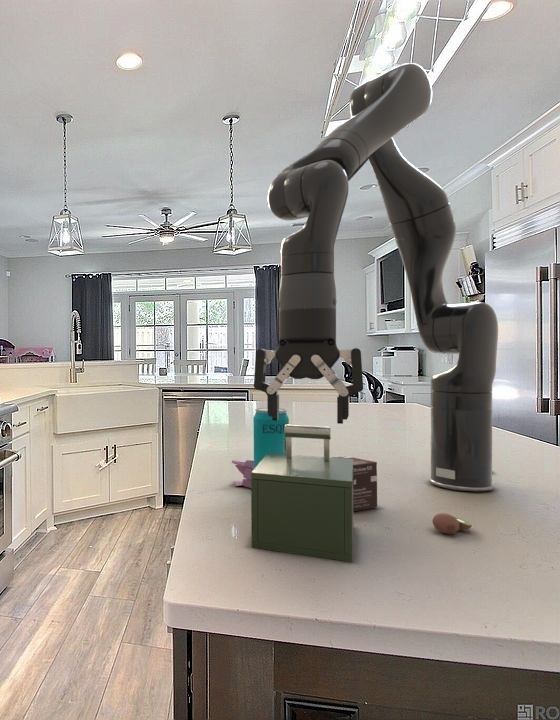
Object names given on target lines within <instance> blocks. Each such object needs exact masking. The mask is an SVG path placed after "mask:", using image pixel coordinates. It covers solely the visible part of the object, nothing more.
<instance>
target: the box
mask: <svg viewBox="0 0 560 720" xmlns="http://www.w3.org/2000/svg"><path fill="white" fill-rule="evenodd" d="M331 458H341V459H353V512H358V511H365V510H369V509H375V508H377V507H378V469H377V468H378V462H377V461H374V460H369V459H363V458H357V457H353V456H332V457H331Z"/></svg>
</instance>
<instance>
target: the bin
mask: <svg viewBox="0 0 560 720" xmlns="http://www.w3.org/2000/svg"><path fill="white" fill-rule="evenodd" d="M250 500H251V501H250V504H251V505H250V507H251V508H250V512H251V516H250V517H251V518H250V519H251V520H250V522H251V530H250V531H251V548H254V549H262V550H267V551H275V552H281V553H282V552H283V553H287V554H288V553H289V554H293V555H294V554H295V555H302V556H308V557H315V558H322V559H329V560H335V561H342V562H349V563H352V562H353V554H354V553H353V551H354V550H353V548H354V511H353V478H352V488H346V487H336V486H325V485H314V484H303V483H293V482H282V481H271V480H260V479H251V488H250Z"/></svg>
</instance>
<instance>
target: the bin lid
mask: <svg viewBox="0 0 560 720" xmlns="http://www.w3.org/2000/svg"><path fill="white" fill-rule="evenodd" d="M331 427H332V426H323V425H304V424H303V425H302V424H289V425H285V437H286V454H272V453H268V454H267V455H266V456H265V457H264V458H263V459H262V461H261V462H260V463H259V464H258V465H257V466H256V468H255V469H254V470H253V471H252V472H251V479H260V480H271V481H282V482H293V483H303V484H314V485H325V486H336V487H346V488H352V478H353V459H341V458H332V457H330V455H331V454H330V452H331V451H330V450H331V449H330V440H331V439H332V428H331ZM294 438H295V439H315V440H323V456H313V455H300V454H299V455H297V454H293V443H292V442H293V441H292V440H293V439H294Z"/></svg>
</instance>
